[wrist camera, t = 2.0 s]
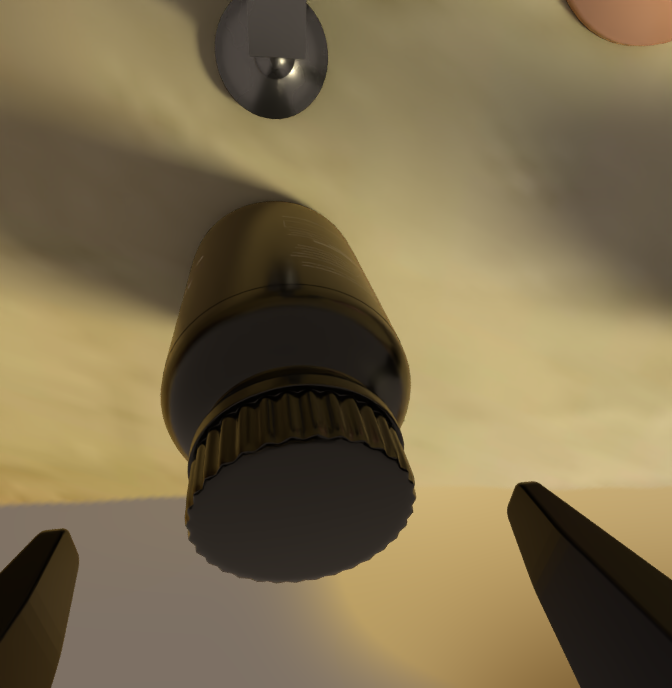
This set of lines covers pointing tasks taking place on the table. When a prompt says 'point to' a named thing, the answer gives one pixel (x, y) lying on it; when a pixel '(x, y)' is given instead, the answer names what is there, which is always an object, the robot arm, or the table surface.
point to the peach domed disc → (627, 20)
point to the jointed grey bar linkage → (271, 55)
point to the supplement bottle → (287, 400)
